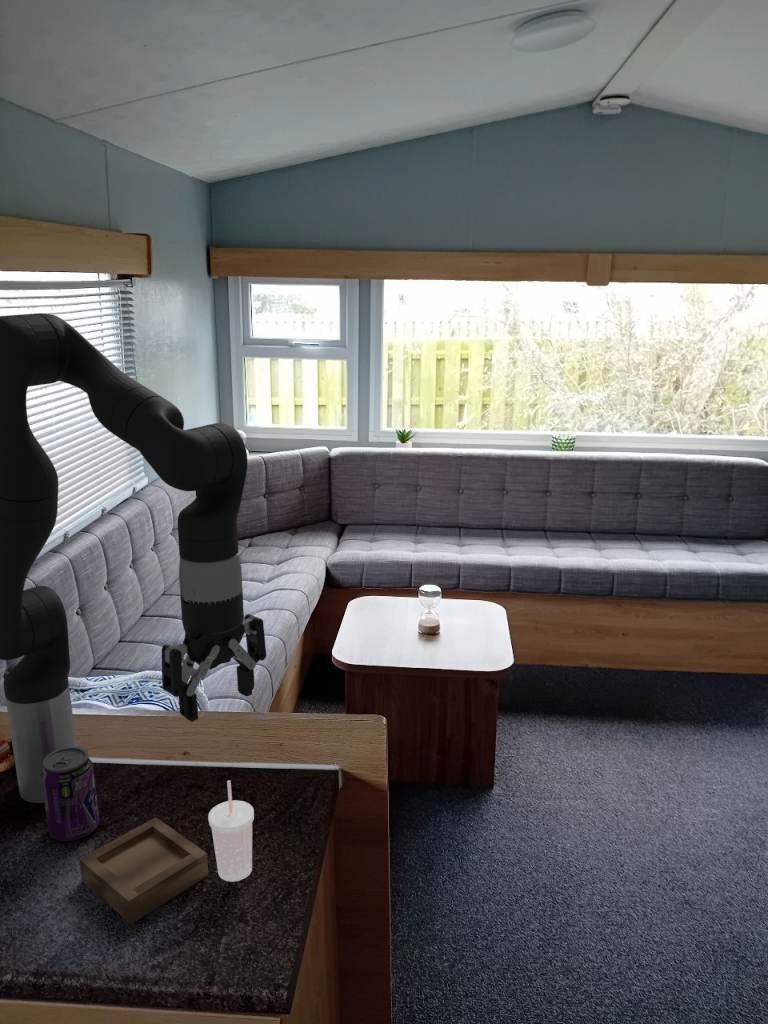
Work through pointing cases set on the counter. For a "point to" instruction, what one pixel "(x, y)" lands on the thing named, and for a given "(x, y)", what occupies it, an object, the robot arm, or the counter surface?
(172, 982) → the counter surface
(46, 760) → the beverage can
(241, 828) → the beverage cup
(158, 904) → the base plinth
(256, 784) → the counter surface
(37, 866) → the counter surface
